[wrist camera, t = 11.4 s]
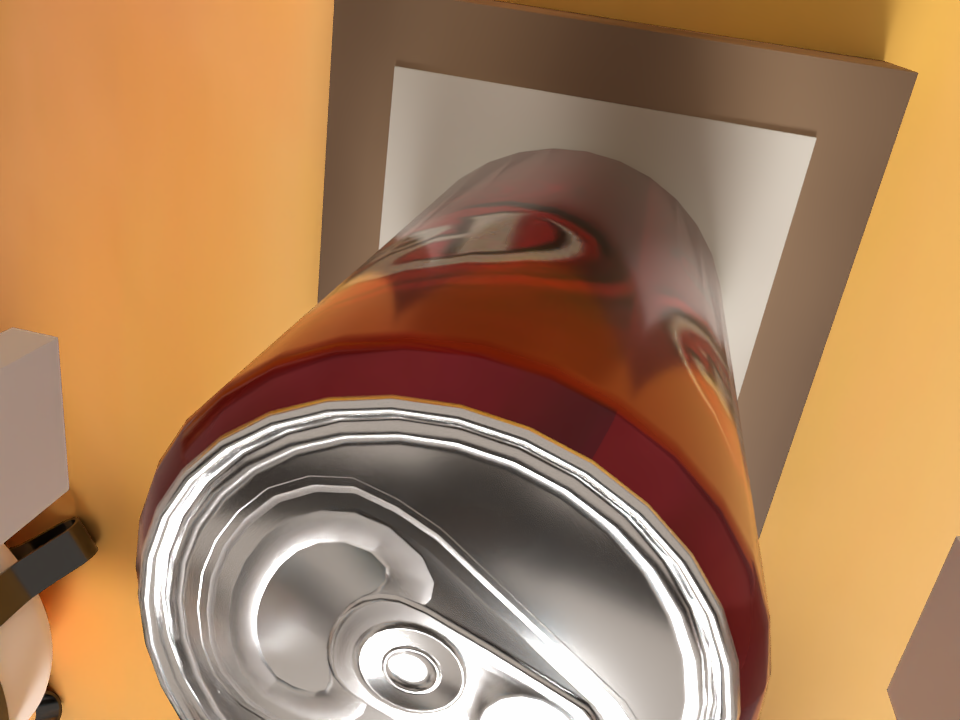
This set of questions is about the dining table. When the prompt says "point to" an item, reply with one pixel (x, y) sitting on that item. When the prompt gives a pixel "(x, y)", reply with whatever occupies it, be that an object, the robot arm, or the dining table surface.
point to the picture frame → (628, 157)
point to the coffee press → (34, 617)
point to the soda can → (475, 480)
